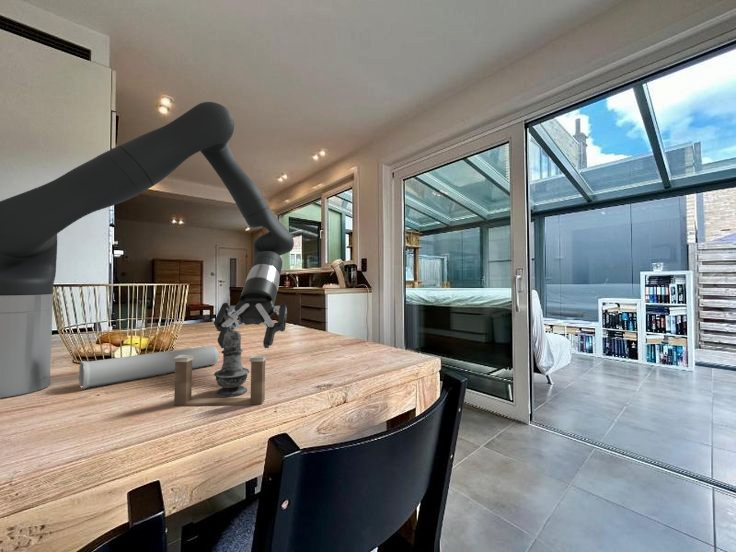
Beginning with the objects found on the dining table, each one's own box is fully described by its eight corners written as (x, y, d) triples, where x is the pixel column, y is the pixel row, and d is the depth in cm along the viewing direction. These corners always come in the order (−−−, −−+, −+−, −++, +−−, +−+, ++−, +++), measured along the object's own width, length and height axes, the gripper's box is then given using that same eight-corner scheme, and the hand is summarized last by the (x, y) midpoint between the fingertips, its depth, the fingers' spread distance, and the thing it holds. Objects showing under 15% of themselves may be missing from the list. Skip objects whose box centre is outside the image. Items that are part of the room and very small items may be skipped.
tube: (212, 345, 80) (78, 363, 61) (221, 341, 76) (83, 358, 57) (214, 367, 78) (79, 392, 59) (224, 364, 75) (84, 389, 56)
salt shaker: (242, 384, 61) (243, 322, 62) (253, 392, 57) (254, 326, 57) (209, 391, 58) (211, 325, 58) (218, 400, 53) (219, 328, 53)
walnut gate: (172, 405, 51) (173, 358, 51) (179, 400, 53) (180, 355, 53) (262, 404, 51) (263, 357, 52) (266, 399, 54) (266, 354, 54)
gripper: (226, 275, 72) (201, 335, 60) (289, 276, 72) (277, 335, 61) (234, 298, 77) (213, 356, 65) (293, 298, 78) (283, 356, 66)
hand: (244, 346), depth 63 cm, fingers open, 8 cm apart
